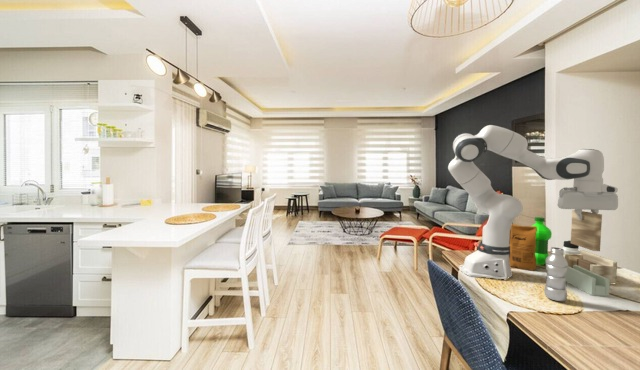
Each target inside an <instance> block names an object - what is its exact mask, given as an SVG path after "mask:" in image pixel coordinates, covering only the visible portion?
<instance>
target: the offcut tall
mask: <svg viewBox="0 0 640 370" xmlns="http://www.w3.org/2000/svg"><path fill="white" fill-rule="evenodd" d="M590 264H593V265H597V264H596V263H594V262H591V261H589V260H585V259H579V260H578V266H580V267H582V268H584V269H587V270H589V271H590Z"/></svg>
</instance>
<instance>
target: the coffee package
mask: <svg viewBox="0 0 640 370" xmlns="http://www.w3.org/2000/svg"><path fill="white" fill-rule="evenodd" d="M536 232H537V227H536V226H532V225H518V224H514V223H513V224H512V226H511V230H510V240H509V246H510V257H509V260H510V268H517V269H520V270H527V271H535V270H536V268H537V264H536V257H535V248H536Z"/></svg>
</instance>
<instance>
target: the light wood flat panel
mask: <svg viewBox="0 0 640 370" xmlns="http://www.w3.org/2000/svg"><path fill="white" fill-rule="evenodd" d="M571 211H572V212H571V227H570V228H571V229H570V241H571V244H574V245H577V246H579V247H581V248H583V249H587V250H589V251H592V252H601V242H602V241H601V238H602V223H603V214H601V213H598V214H596V213H592V212H591V211H585V210H582V212H581V214H582V216H585V218H584V220H578V219H577V214H576V213H575V209H571Z"/></svg>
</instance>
